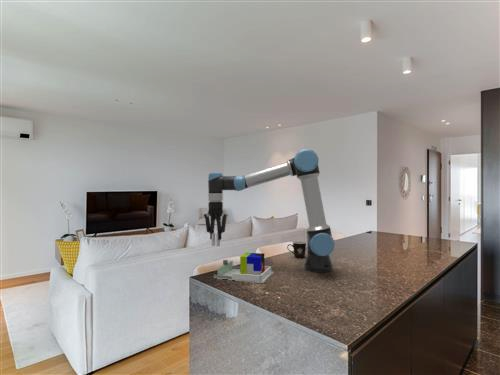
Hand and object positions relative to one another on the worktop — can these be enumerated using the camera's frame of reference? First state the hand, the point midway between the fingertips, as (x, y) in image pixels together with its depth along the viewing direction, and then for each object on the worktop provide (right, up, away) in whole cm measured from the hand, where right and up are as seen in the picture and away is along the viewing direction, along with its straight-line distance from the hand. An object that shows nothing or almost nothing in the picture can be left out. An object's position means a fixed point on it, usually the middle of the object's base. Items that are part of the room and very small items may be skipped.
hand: (215, 245), depth 150 cm
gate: (+5, -13, -2) cm, 14 cm away
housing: (+15, -14, -6) cm, 22 cm away
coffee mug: (+49, -15, +35) cm, 62 cm away
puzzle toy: (+20, -13, -8) cm, 25 cm away
